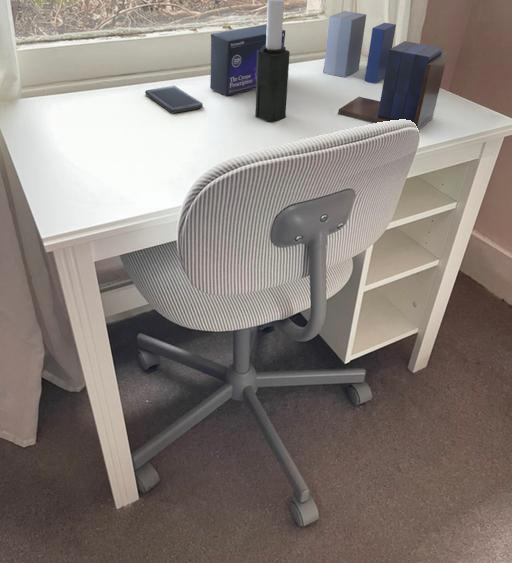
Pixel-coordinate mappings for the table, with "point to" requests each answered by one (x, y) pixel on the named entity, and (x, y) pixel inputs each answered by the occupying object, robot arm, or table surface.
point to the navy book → (379, 51)
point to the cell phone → (173, 99)
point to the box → (236, 58)
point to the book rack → (404, 86)
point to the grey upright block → (344, 43)
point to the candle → (272, 68)
